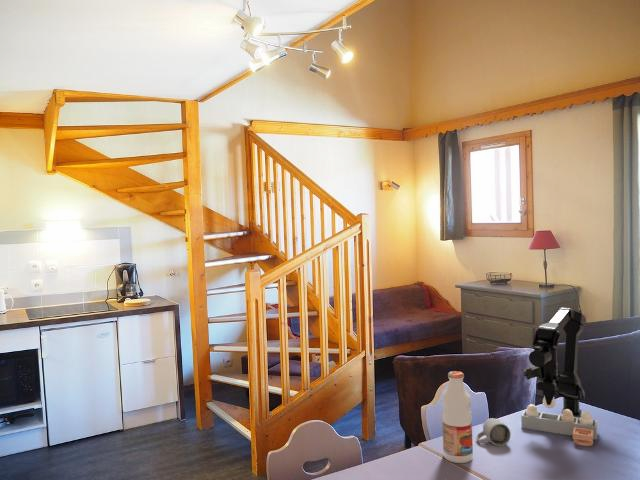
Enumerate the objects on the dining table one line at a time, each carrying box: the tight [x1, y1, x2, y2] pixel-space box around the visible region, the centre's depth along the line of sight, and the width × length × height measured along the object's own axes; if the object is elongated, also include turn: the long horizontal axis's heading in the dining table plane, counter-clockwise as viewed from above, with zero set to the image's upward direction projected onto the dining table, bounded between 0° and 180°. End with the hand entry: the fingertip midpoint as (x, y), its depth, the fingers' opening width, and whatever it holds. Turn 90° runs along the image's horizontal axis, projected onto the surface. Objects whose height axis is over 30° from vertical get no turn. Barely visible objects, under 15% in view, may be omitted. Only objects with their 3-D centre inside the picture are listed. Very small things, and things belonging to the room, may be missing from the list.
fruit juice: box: [441, 370, 474, 464], centre depth 171 cm, size 9×9×28 cm
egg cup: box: [572, 427, 594, 447], centre depth 179 cm, size 6×6×4 cm
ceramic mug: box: [475, 417, 512, 447], centre depth 183 cm, size 11×8×8 cm
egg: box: [542, 396, 557, 409], centre depth 192 cm, size 4×4×6 cm
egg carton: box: [520, 403, 598, 440], centre depth 190 cm, size 7×25×8 cm, turn 60°
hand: (549, 402), depth 192 cm, fingers closed on egg, 4 cm apart
